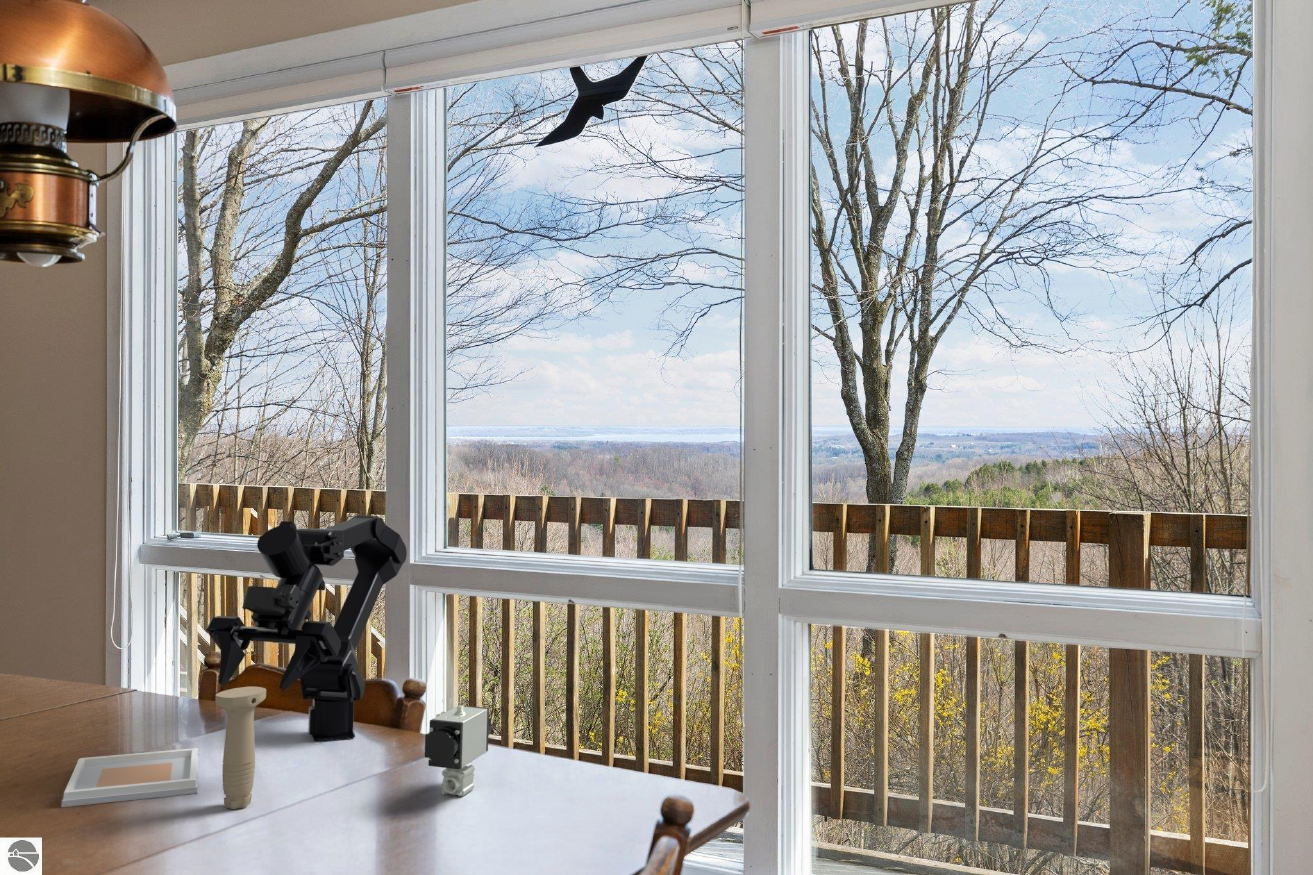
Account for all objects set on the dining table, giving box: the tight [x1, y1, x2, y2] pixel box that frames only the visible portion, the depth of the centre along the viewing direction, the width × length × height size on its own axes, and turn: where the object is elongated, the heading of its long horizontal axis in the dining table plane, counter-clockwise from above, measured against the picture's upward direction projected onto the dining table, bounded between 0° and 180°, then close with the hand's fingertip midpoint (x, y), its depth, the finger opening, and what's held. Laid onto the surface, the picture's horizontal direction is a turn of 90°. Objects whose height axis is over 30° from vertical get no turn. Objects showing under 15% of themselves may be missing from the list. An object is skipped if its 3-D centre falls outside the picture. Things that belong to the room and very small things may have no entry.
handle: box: [215, 686, 267, 810], centre depth 131 cm, size 5×6×15 cm
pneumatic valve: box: [424, 704, 492, 797], centre depth 139 cm, size 6×12×12 cm, turn 164°
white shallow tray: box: [61, 747, 200, 808], centre depth 140 cm, size 16×16×2 cm
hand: (251, 687), depth 140 cm, fingers open, 9 cm apart
